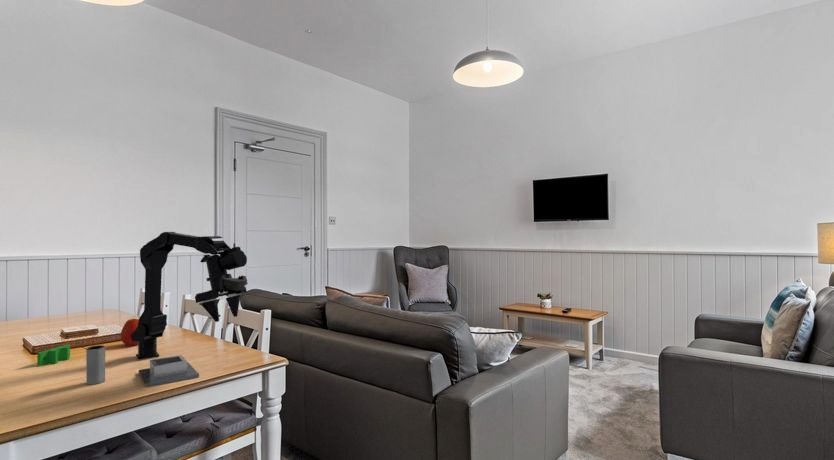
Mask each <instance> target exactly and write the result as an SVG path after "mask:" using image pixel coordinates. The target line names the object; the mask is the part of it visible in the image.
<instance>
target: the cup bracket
mask: <svg viewBox="0 0 834 460" xmlns="http://www.w3.org/2000/svg"><path fill="white" fill-rule="evenodd" d="M138 375H139V376H140V378H141V381H142V382H143V384H144V387H146V388H149V387H154V386H161V385H164V384H165V385H166V384H170V383H174V382H180V381H186V380H190V379H195V378H200V373H199V372H198V371H197V370H196V369H195V368H194V367H193V366H192V365H191V364H190V362H188V361H187V359H185V357H184V356H182V354H179V355H178V354H177V355H173V356H166V357H161V358H160V357H159V358H154V359H153V358H151V359H149V367H148V368H143V369H138Z"/></svg>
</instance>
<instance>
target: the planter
mask: <svg viewBox="0 0 834 460" xmlns="http://www.w3.org/2000/svg"><path fill="white" fill-rule="evenodd" d="M85 351H86V352H85V353H86V354H85V355H86V359H85V360H86V365H85V367H86V371H85V372H86V376H85V377H86V384H87V385H91V386H92V385H98V384H102V383H104V382H106V346H105V345H103V344H102V345H93V346H88V347H86V350H85Z"/></svg>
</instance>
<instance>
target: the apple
mask: <svg viewBox="0 0 834 460" xmlns="http://www.w3.org/2000/svg"><path fill="white" fill-rule="evenodd" d="M138 321H139V318H131V319H128V320H126V322H125V323H124V325H123V327H122V329H121V331H120V339H121V342H122V343H123V344H124V346H127V347H134V346H138V342H136V341H132V339H131V334H132V333H133V332H134V331H135V329H136V328H137V327H138Z"/></svg>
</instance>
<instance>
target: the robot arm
mask: <svg viewBox="0 0 834 460" xmlns="http://www.w3.org/2000/svg"><path fill="white" fill-rule="evenodd" d="M175 245H176V246H182V247H188V248H193V249H195V250H196V251H197V252H200V253H203V254H204V255H203V257H202V258H201V260H200V261H199V262H200V263H205V264H206V269H207V274H208V277H206V282H209V283H210V289H209V290H207V291H203V292H199V293H198V292H197V293H196V294H195V296H194V300H195V304H197V303H198V305H199V306H201V307H203V309H204V310H205V311H206V312H207V313H208V314H209V315H210V317H211V318H212V320H213V321H214V322H215V323H218V322H220V315H219V314H220V313H219V308H218V305H219V302H220V299H221V297H223V296H226V297H225V300H226V302H227V305H228V308H229V309H230V311H231V314H232V316H233V317H234V318H235V317H238V316H239V315H238V313H239V307H240V302H241V299H243V297H244V296H246V295H245V293H247V292H248V291H247V288H246V286H247V285H248V279H247V276H246V275H239V276H238V277H235V278H234V277H232V274H231V273H228V271H230V270H231V271H232V270H236V269H239V268H242V267H245V266H246V265H247V263H248V262H247V261H248V258H247V255H246V253H245V252H244V251H243V250H241V247H240V246H233V247H230V246H229V245H228V244H227V243H226V242H225V240H224V237H223V236H220V235H212V236H211V235H209V236H206V235H205V236H199V235H198V236H197V235H191V234H184V233H181V232H180V233H178V232H175V231H163V232H161V233H160V234H159V235H158V236H157V237H154V238H153V239H151V240H150V241H148V242H146V243H145V244H144V245H143V246H142V247H140V249H139V256H140V257H139V258H140V259H139V260H140V263H141V265H142V266H143V268H144V273H145V275H144V283H145V284H144V305H143V306H144V308H143V311H142V312H141V315H140V316H139V318H138V319H139V321H138V327H137V328H136V329H135V331H134V332H133V333H132V334H131V339H132V341H136V342H138V345H137V354H135V357H136V359H137V360H143V359H144V360H145V359H152V358H157V357H160V354H159V353H158V350H157V349H158V345H157V344H158V343H157V342H158V341H157V340H158V338H162V337H163V336H164V333H165V330H166V326H168V323H167V319H168V314H166V313H163V311H162V310H161V301H162V298H161V297H162V272H163V271H162V270H163V268H164V266H165V265H166V264H167V261H168V256H169V254H170V253H171V252H172V251H173V250H174V246H175ZM219 297H220V298H219Z"/></svg>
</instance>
